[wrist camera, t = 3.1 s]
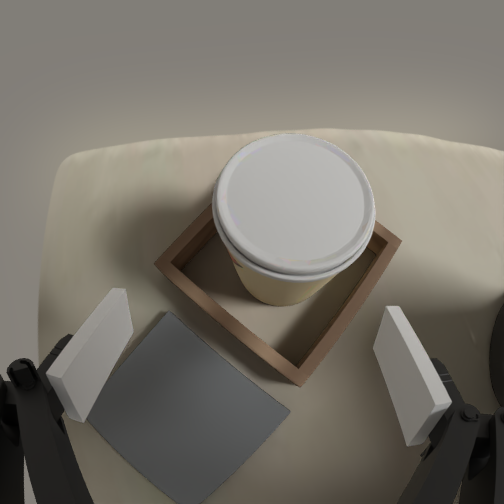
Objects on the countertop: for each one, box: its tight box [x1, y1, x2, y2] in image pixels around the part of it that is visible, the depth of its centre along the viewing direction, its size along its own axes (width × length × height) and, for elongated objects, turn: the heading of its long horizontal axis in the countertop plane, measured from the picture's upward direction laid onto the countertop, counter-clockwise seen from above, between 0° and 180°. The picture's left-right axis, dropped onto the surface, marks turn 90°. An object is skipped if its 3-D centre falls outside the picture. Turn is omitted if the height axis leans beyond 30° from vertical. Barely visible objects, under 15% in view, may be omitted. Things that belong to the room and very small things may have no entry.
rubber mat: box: [86, 311, 290, 504], centre depth 22 cm, size 13×13×1 cm
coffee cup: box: [212, 133, 375, 306], centre depth 22 cm, size 9×9×12 cm
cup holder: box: [154, 203, 402, 387], centre depth 26 cm, size 15×15×3 cm
